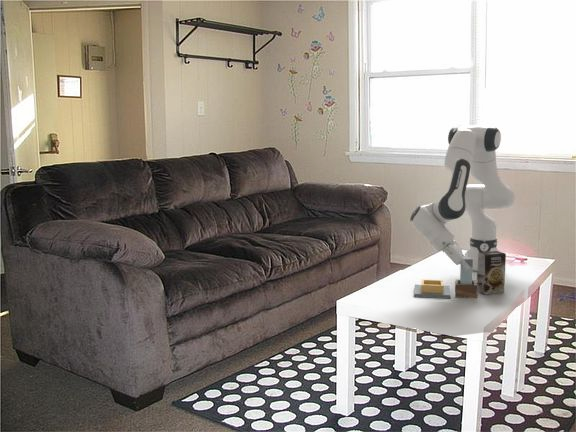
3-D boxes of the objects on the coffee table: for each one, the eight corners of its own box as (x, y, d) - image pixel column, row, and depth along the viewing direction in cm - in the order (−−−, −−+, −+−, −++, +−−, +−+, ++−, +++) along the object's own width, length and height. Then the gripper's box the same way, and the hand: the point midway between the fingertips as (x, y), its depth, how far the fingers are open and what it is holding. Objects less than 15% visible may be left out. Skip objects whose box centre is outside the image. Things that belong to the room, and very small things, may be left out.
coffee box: (485, 294, 252) (486, 255, 249) (476, 290, 258) (477, 251, 256) (505, 292, 254) (506, 253, 252) (495, 288, 261) (497, 250, 258)
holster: (454, 291, 257) (455, 279, 256) (475, 292, 255) (475, 280, 255) (455, 297, 249) (456, 284, 249) (476, 298, 248) (477, 285, 247)
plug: (459, 293, 255) (460, 256, 253) (471, 293, 254) (472, 256, 252) (460, 296, 251) (461, 259, 249) (471, 296, 250) (472, 259, 248)
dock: (414, 287, 264) (415, 277, 264) (449, 288, 261) (449, 278, 261) (414, 296, 251) (414, 286, 250) (450, 298, 248) (450, 287, 247)
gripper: (449, 240, 240) (476, 266, 240) (448, 230, 260) (472, 254, 259) (437, 251, 242) (463, 277, 241) (436, 241, 262) (460, 265, 261)
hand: (468, 265), depth 251 cm, fingers open, 7 cm apart
